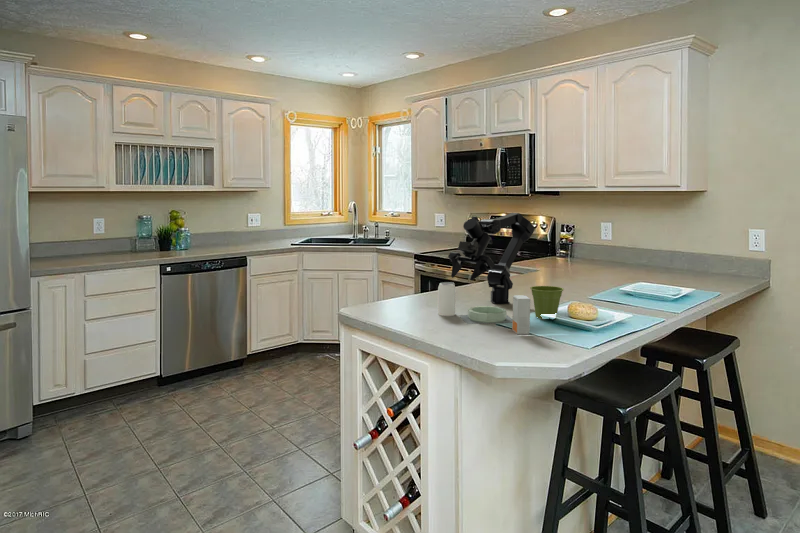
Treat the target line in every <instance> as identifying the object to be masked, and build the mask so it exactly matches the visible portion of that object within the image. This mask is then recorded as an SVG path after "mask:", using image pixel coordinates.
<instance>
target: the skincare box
mask: <svg viewBox="0 0 800 533" xmlns="http://www.w3.org/2000/svg"><path fill="white" fill-rule="evenodd" d="M511 318H512V323H511V324H512V325H511V330H512V331H513V332H514V333H515V334H517V335H526V336H529V335H530V331H531V330H530V328H531V327H530V324H531V298H530V297H528V296H527V295H525V294H524V295H523V294H520V295H519V294H517V295H513V296H512V317H511Z"/></svg>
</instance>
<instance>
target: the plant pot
mask: <svg viewBox="0 0 800 533" xmlns="http://www.w3.org/2000/svg"><path fill="white" fill-rule="evenodd" d="M529 288H530V290H531V294H532V298H533V304H534V305H533V306H534V314H535V318H536V317H538V318H541V319H540V320H543V319H542V317H541V316H540V315H541V314H555V313H557V314H558V312H559V311H558V310H559V306H560V300H561V297H562V293H563V292H564V290H565V289H564V288H563V287H560V286H551V285H534V286H531V287H529ZM538 318H537V319H538Z"/></svg>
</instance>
